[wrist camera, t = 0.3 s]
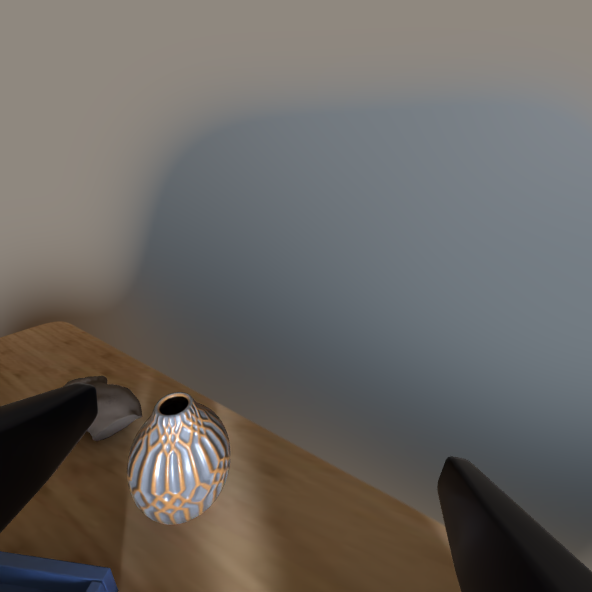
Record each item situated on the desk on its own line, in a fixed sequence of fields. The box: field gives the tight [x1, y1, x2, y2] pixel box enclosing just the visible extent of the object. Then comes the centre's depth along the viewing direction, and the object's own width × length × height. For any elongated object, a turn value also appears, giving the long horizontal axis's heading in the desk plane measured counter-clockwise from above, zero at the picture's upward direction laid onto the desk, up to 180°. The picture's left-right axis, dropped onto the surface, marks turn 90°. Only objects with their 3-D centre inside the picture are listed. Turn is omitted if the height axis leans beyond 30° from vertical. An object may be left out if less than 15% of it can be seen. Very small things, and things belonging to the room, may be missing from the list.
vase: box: [127, 392, 230, 524], centre depth 20 cm, size 7×7×9 cm
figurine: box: [63, 376, 142, 441], centre depth 27 cm, size 6×4×12 cm
